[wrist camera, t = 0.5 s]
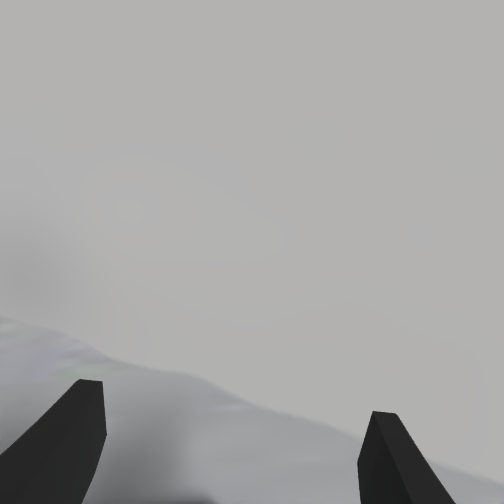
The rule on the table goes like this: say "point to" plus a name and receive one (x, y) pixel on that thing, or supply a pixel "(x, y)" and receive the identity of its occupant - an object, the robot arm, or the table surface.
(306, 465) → the table surface
